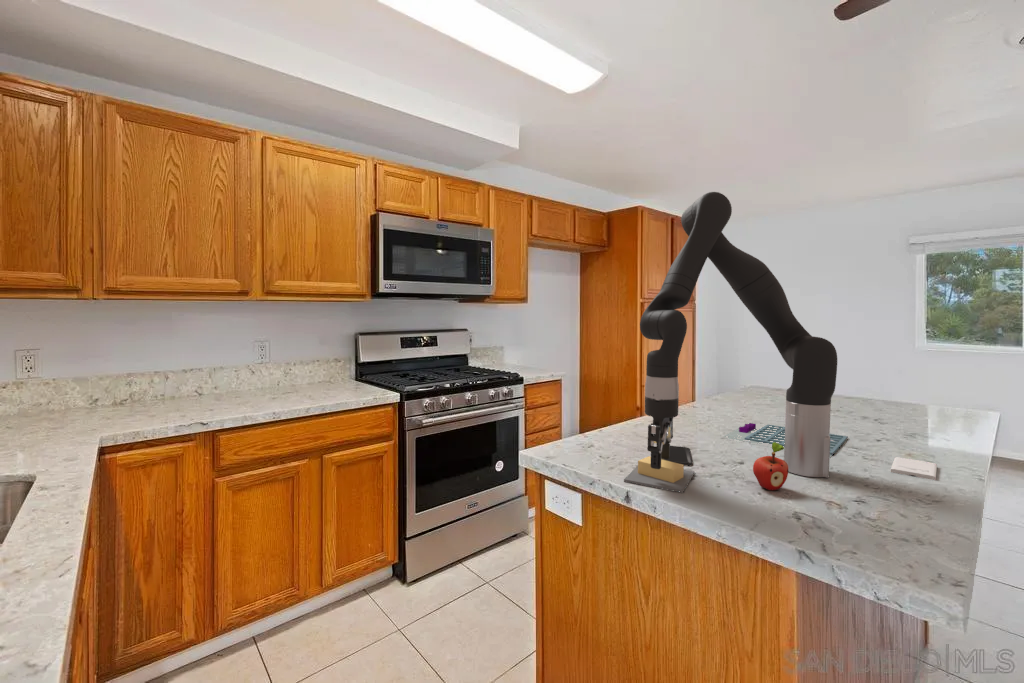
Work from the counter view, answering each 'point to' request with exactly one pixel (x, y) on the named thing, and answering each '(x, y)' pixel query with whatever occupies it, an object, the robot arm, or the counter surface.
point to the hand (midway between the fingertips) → (660, 463)
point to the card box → (661, 470)
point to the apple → (771, 470)
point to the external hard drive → (914, 468)
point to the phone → (680, 455)
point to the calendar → (746, 435)
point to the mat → (659, 483)
